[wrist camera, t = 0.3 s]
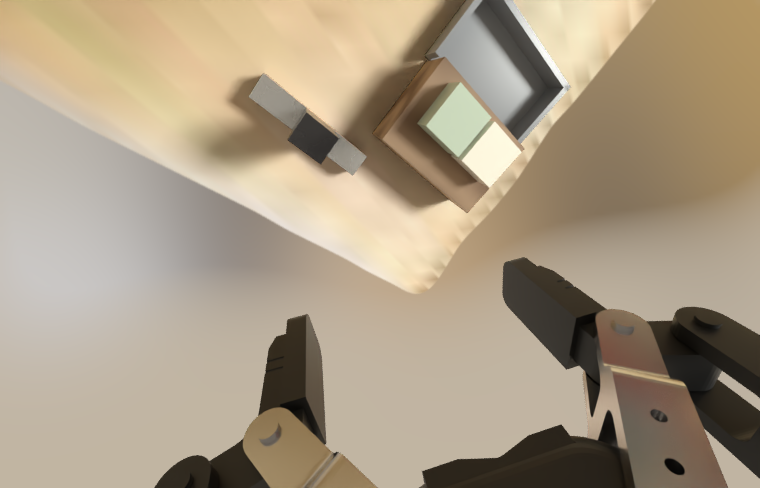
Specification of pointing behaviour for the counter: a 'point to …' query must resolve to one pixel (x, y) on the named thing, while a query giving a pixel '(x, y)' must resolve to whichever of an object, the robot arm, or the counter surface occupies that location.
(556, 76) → the grey tray
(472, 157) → the cream tile
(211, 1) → the counter surface
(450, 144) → the sage tile
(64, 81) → the counter surface
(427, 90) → the walnut riser
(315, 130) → the grey l-shaped bracket
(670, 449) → the robot arm
